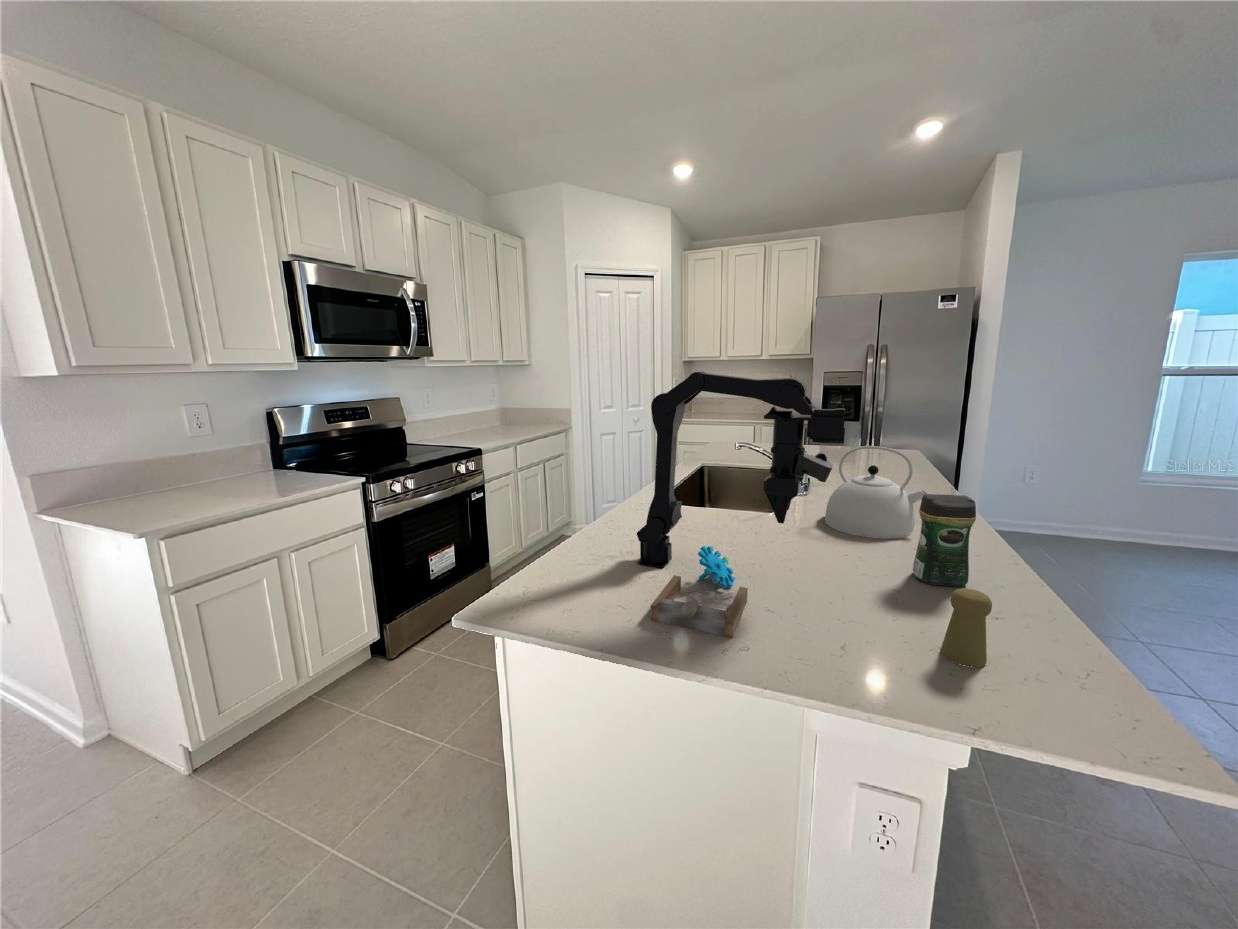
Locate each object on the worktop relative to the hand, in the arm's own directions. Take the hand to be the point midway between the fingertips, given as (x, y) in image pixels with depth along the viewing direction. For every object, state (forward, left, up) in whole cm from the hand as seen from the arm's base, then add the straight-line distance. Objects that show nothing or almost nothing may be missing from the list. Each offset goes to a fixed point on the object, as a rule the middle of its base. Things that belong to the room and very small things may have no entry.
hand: (783, 516), depth 100 cm
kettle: (+20, +47, -15) cm, 53 cm away
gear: (-12, -5, -15) cm, 20 cm away
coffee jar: (+31, +14, -15) cm, 37 cm away
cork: (+30, -16, -15) cm, 37 cm away
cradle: (-12, -18, -15) cm, 27 cm away
